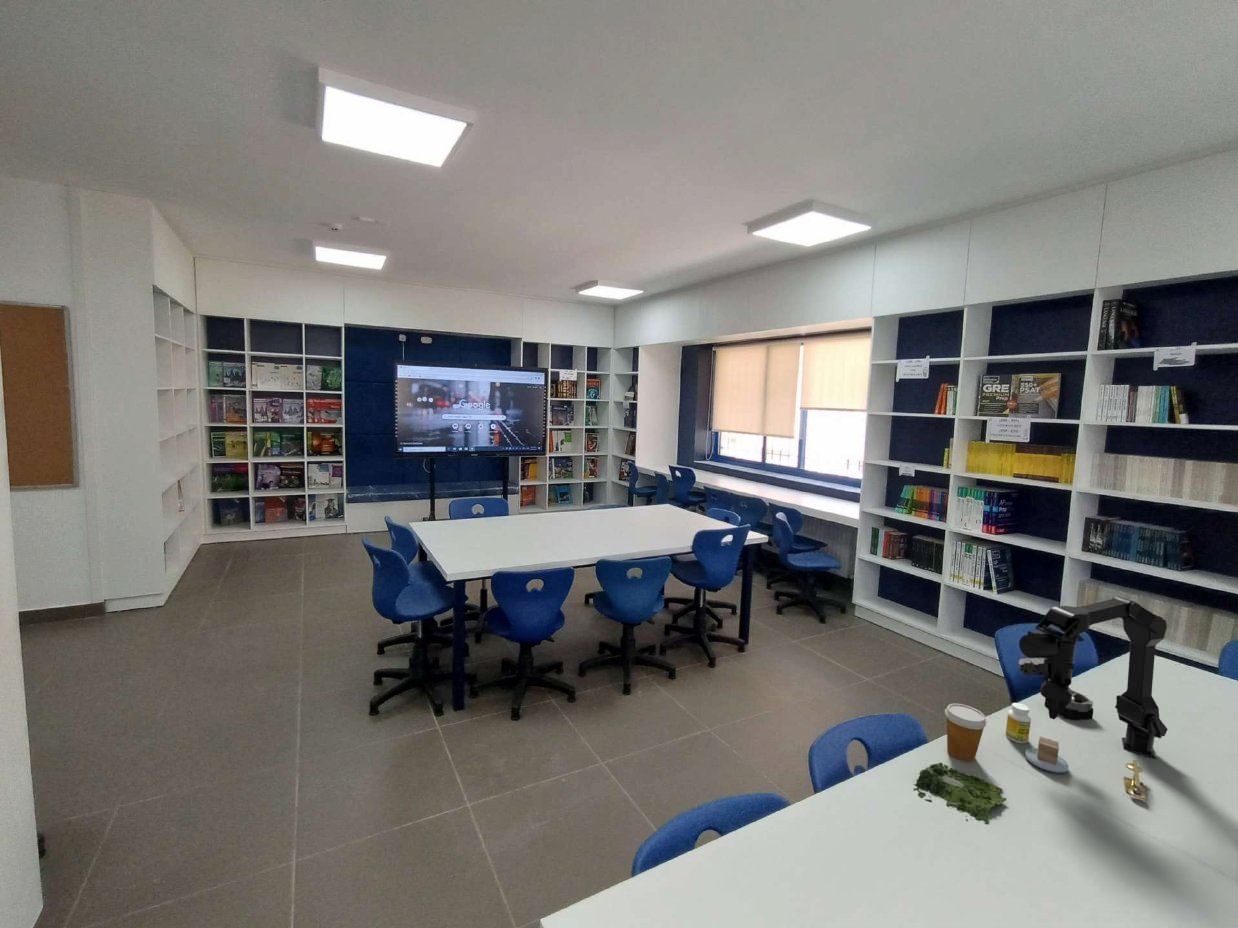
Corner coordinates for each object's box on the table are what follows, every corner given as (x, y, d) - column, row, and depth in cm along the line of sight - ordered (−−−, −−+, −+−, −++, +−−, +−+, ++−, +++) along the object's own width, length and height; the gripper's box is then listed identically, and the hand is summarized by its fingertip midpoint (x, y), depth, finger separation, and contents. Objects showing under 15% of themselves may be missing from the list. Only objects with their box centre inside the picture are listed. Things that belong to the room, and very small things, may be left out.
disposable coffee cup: (988, 768, 145) (993, 724, 144) (947, 762, 147) (953, 719, 146) (973, 746, 154) (978, 705, 153) (935, 741, 156) (940, 700, 155)
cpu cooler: (1041, 686, 179) (1069, 686, 180) (1038, 703, 180) (1066, 702, 181) (1071, 704, 169) (1100, 703, 170) (1068, 722, 169) (1097, 721, 171)
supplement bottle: (1015, 731, 163) (1019, 700, 162) (1033, 742, 157) (1037, 710, 156) (1000, 733, 161) (1004, 701, 160) (1017, 744, 156) (1021, 712, 155)
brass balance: (1122, 772, 146) (1125, 753, 145) (1141, 778, 144) (1144, 759, 143) (1126, 798, 136) (1129, 778, 135) (1146, 805, 134) (1150, 785, 133)
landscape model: (901, 795, 136) (901, 775, 136) (946, 768, 148) (946, 749, 148) (976, 834, 122) (976, 811, 122) (1019, 801, 134) (1019, 780, 134)
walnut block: (1037, 751, 151) (1039, 735, 150) (1056, 757, 148) (1058, 741, 148) (1037, 758, 148) (1039, 742, 147) (1056, 765, 145) (1058, 748, 145)
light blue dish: (1025, 748, 154) (1026, 743, 154) (1067, 762, 149) (1068, 757, 149) (1023, 764, 147) (1024, 759, 147) (1067, 779, 142) (1068, 774, 142)
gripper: (1024, 636, 161) (1018, 687, 163) (1020, 657, 147) (1013, 714, 148) (1074, 648, 154) (1067, 702, 156) (1075, 671, 140) (1067, 730, 141)
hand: (1052, 711), depth 151 cm, fingers open, 9 cm apart
